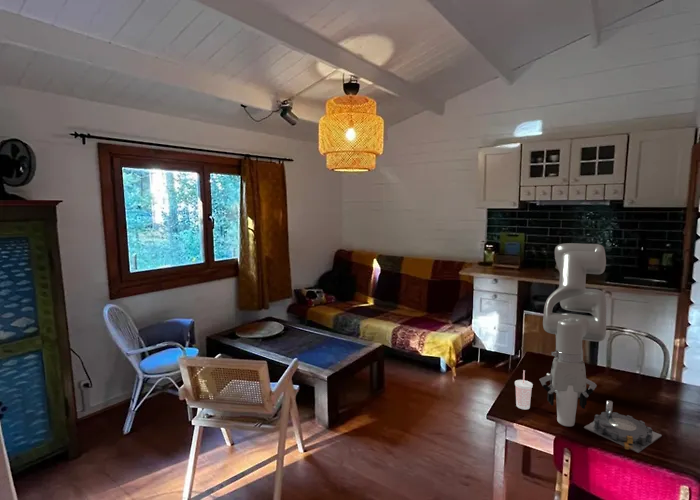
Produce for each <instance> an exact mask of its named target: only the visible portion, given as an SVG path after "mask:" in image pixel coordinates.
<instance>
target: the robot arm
mask: <svg viewBox="0 0 700 500" xmlns="http://www.w3.org/2000/svg"><path fill="white" fill-rule="evenodd" d="M554 259H555V263H556V267H557V269H558V272H559V284H558V285H559V286H558V287H557V288H556V289H555V290H553V292H552V293H551V294H550V295H549V296H548V297H547V299H546V301H545V304H544V308H543V316H542V317H543V318H542V319H543V320H542V327H543V330H544V331H545V332H546V333H548V334H552V335H555V351H551V356H553V357H554V358H553V361H552V365H551V370H550V373H549V372H547V373H546V375H545V376H543V377H541V378H539V381H540V383H541V386H542V387H543V389H544V390H545V391H546V392H547V398H546V400H547V402H548V403H549V404H550V406H554V399H555V395H554V393H555V394H556V390H558V391H567V388H568V386H569V385H570V386H571V385H572V386H573V390H574V392H579V394H578V398H579V406H580V407H581V409H583V410H585V409H586V406H587V405H588V398H589V395H591V394H593V393H594V391H595V389H596V388H597V386H598V385H597V384H596V382H594V381H592V380H590V379H588V378H587V375H586V372H587V371H586V366H585V361H584V359H583V358H584V350H583V341H590V342H602V341H604V340H605V339H606V336H607V335H606V333H607V297H606V294H605V292H604V291H602V290H600V289H598V288H597V289H596V288H586V285H587V284H586V280H587V279H586V277H587V274H589V275H601V274H603V273H604V272H605V270H606V267H607V266H606V265H607V258H606V250H605V247H604V246H603V245H601V244H598V243H576V242H574V243H573V242H571V243H570V242H569V243H568V242H567V243H559V244H558V245H556V246H555V248H554ZM558 303H559V304H560V307H561V309H563V310H566V311H569V312H570V311H571V312H579V313H580V312H581V313H589V314H591V315H584V314H577V313H558V312H553V308H554V307H555V305H556V304H558ZM547 382H549V383H550V384H549V385H548V384H547ZM587 385H589V386H588V388H587Z"/></svg>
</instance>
